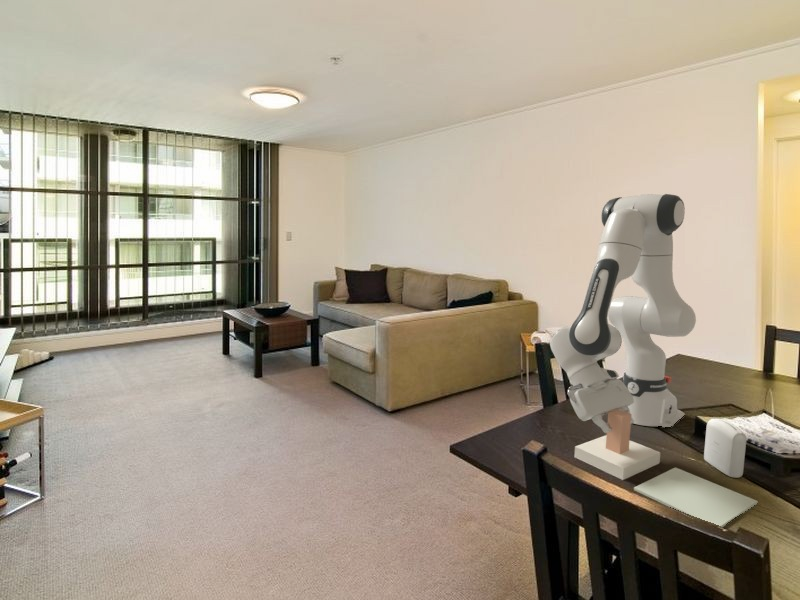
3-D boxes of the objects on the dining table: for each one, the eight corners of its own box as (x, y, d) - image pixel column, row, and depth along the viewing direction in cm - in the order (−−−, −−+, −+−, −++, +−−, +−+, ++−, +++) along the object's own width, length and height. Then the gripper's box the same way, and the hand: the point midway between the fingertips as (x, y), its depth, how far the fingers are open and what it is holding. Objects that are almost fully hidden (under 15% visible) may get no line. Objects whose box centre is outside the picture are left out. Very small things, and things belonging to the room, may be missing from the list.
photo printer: (700, 458, 127) (704, 414, 125) (716, 458, 127) (720, 414, 125) (728, 478, 117) (734, 430, 115) (745, 478, 117) (751, 430, 115)
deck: (610, 443, 136) (611, 433, 136) (659, 463, 125) (660, 452, 124) (574, 457, 128) (574, 446, 127) (622, 480, 116) (623, 468, 116)
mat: (675, 469, 121) (675, 467, 121) (757, 503, 106) (757, 501, 106) (633, 489, 112) (633, 487, 112) (717, 530, 97) (718, 527, 97)
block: (614, 444, 128) (617, 409, 127) (628, 450, 125) (631, 413, 124) (605, 448, 126) (608, 412, 125) (619, 454, 123) (622, 417, 122)
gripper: (572, 382, 124) (603, 431, 117) (619, 370, 134) (650, 414, 128) (557, 393, 128) (586, 442, 121) (604, 381, 139) (633, 424, 132)
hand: (620, 427), depth 124 cm, fingers open, 8 cm apart
